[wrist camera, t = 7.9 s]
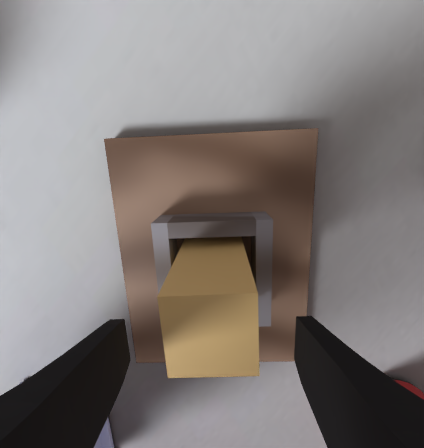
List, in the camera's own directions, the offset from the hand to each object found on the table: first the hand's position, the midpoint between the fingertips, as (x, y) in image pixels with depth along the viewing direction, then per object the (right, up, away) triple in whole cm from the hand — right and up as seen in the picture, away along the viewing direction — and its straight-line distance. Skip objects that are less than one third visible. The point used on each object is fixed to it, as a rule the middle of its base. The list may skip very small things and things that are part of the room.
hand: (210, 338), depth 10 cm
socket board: (0, +2, +9) cm, 9 cm away
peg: (0, +2, +8) cm, 8 cm away
